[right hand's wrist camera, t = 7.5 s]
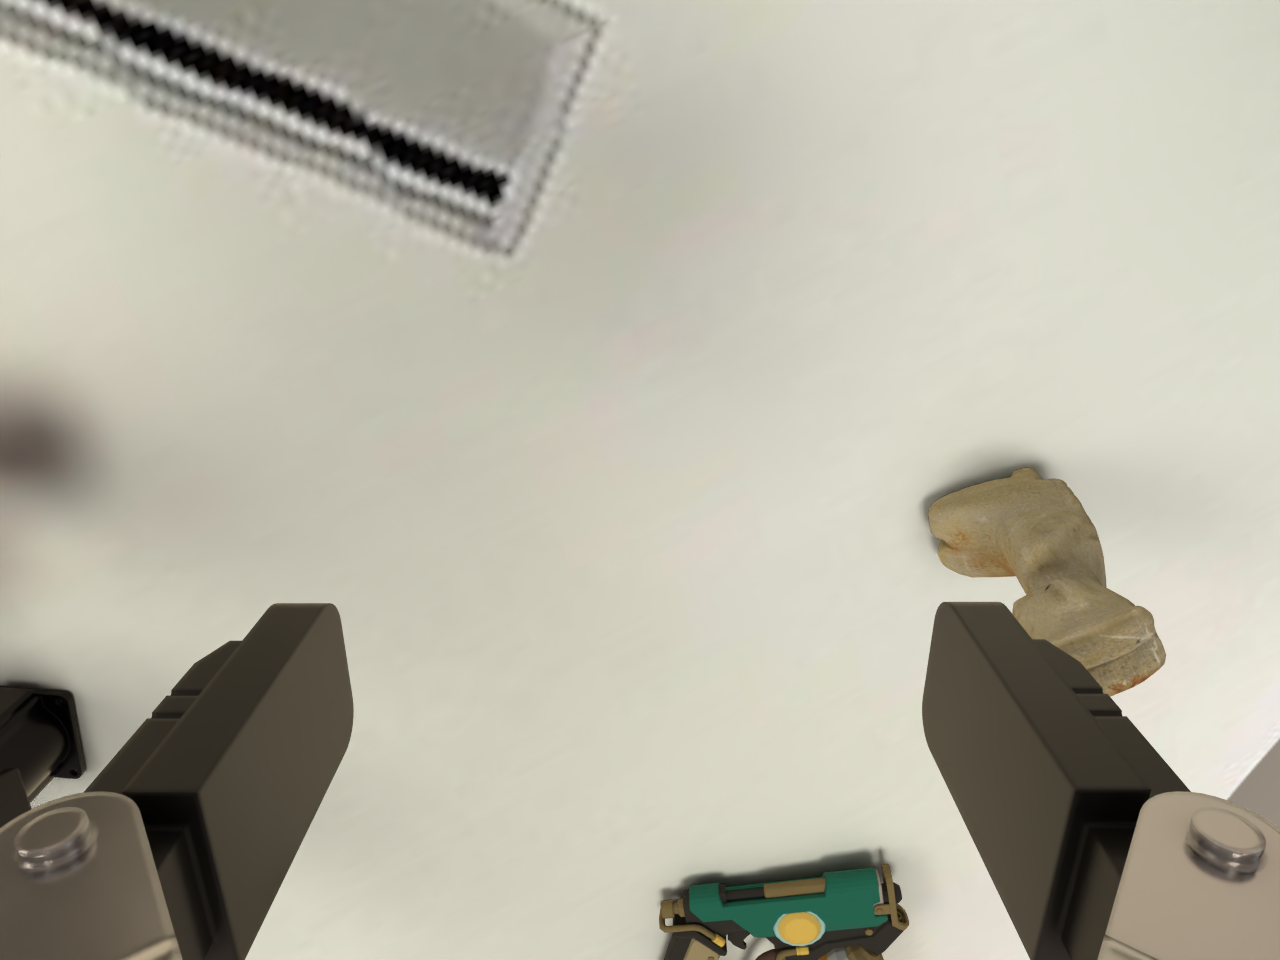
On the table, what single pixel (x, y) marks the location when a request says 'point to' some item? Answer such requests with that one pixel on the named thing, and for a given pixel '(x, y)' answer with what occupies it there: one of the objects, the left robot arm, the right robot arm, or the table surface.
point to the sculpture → (1049, 572)
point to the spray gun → (790, 917)
